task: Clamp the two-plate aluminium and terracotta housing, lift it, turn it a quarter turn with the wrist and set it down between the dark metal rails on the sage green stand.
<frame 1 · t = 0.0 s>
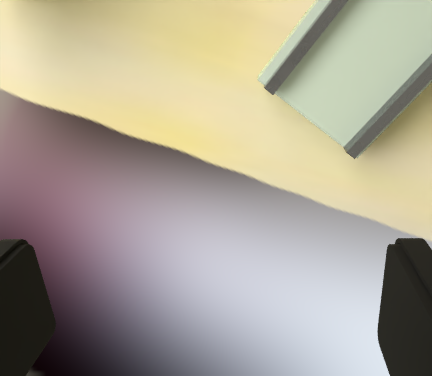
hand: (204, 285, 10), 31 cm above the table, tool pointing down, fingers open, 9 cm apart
stand: (372, 34, 36), on the table
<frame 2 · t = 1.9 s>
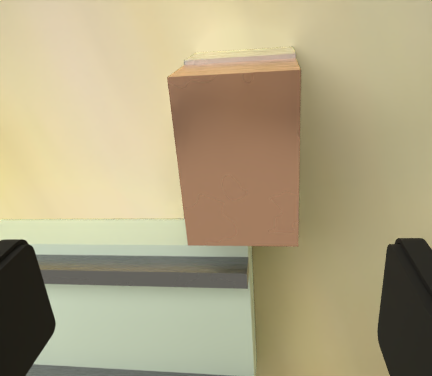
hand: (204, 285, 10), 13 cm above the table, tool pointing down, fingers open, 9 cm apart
housing: (246, 124, 22), on the table
stand: (128, 292, 28), on the table
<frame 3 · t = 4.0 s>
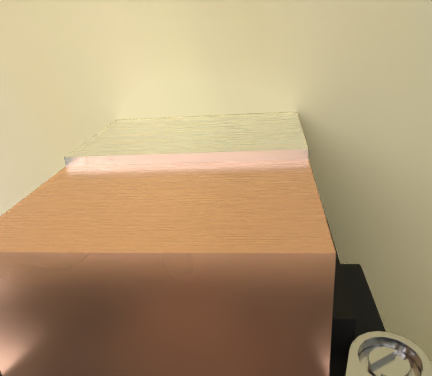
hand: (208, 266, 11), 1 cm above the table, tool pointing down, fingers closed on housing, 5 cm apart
housing: (214, 241, 12), on the table, touching gripper
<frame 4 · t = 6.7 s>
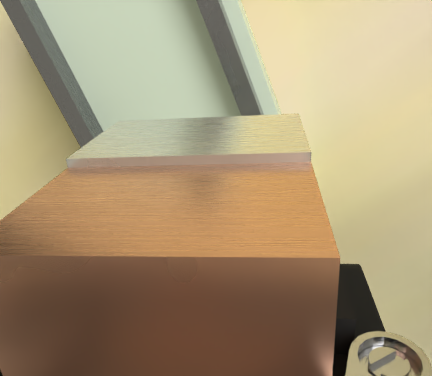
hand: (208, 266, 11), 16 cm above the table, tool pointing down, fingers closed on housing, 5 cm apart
housing: (215, 242, 12), point 15 cm above the table, touching gripper
stand: (179, 105, 26), on the table
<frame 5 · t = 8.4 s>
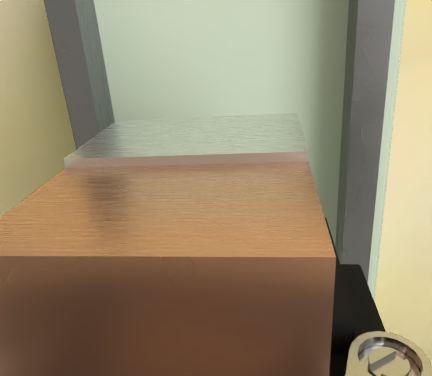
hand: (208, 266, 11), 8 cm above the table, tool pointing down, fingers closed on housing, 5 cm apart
housing: (214, 242, 12), point 7 cm above the table, touching gripper
stand: (234, 168, 19), on the table
when the fingers open (6 cm above the table, at t = 9.7 s): housing drops 1 cm, resting on stand.
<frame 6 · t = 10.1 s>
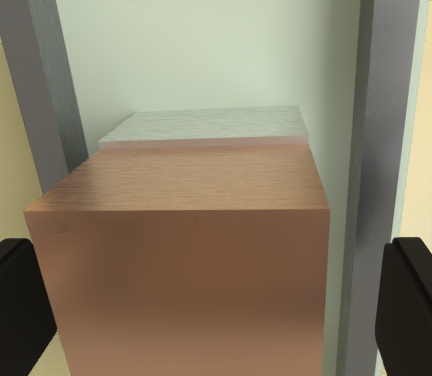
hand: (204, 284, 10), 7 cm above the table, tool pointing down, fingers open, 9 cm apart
housing: (223, 223, 14), point 3 cm above the table, touching stand
stand: (226, 186, 16), on the table
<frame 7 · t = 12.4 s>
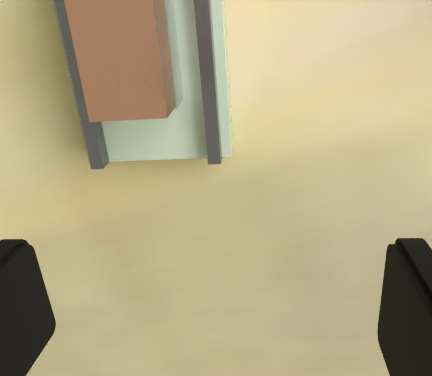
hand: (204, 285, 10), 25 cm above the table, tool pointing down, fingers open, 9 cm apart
housing: (144, 46, 29), point 3 cm above the table, touching stand
stand: (151, 41, 32), on the table
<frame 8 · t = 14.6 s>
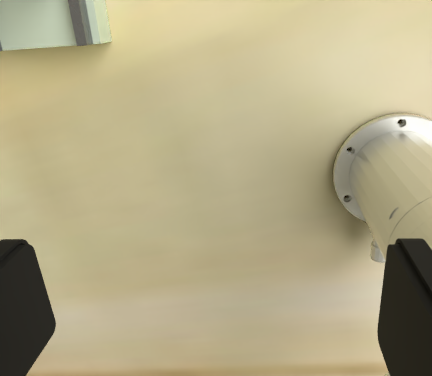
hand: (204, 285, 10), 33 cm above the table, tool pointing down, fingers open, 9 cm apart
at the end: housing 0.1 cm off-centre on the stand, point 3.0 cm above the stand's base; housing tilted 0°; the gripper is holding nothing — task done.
